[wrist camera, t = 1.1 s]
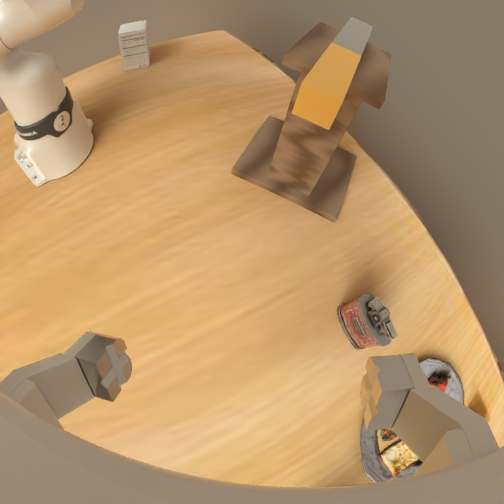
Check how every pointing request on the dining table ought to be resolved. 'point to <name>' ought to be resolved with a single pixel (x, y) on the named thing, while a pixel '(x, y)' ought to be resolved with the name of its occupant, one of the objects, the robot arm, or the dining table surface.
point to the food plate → (398, 454)
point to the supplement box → (134, 45)
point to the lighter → (366, 322)
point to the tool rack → (313, 133)
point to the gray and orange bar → (332, 75)
